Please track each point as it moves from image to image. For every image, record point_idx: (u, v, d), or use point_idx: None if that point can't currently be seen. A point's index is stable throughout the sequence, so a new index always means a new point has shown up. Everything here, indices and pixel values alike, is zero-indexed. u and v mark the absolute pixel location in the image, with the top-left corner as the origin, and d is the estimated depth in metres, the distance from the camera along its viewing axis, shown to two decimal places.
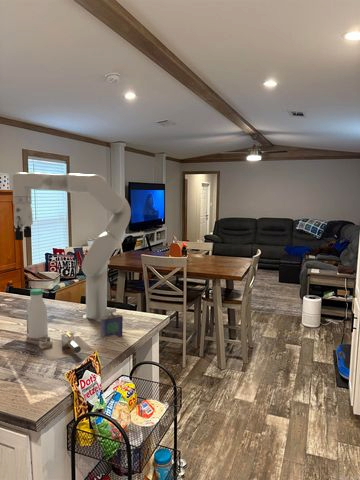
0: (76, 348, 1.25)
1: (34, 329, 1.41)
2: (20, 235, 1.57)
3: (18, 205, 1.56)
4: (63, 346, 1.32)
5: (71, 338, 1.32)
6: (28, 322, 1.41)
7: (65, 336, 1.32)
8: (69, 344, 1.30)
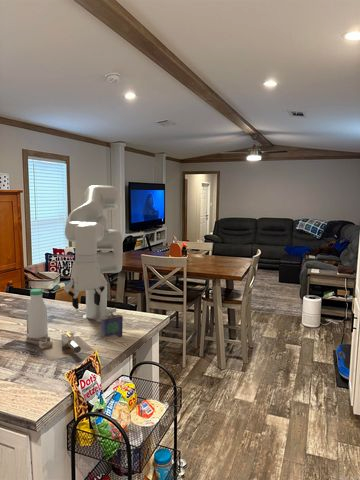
0: (76, 348, 1.25)
1: (34, 329, 1.41)
2: None
3: None
4: (63, 346, 1.32)
5: (71, 338, 1.32)
6: (28, 322, 1.41)
7: (65, 336, 1.32)
8: (69, 344, 1.30)
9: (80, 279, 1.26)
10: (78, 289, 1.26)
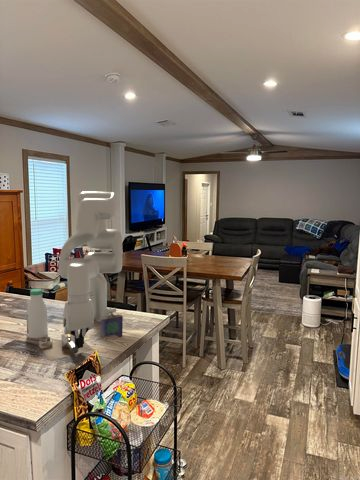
0: (74, 348, 1.25)
1: (34, 329, 1.41)
2: None
3: None
4: (63, 346, 1.32)
5: (71, 338, 1.32)
6: (28, 322, 1.41)
7: (65, 336, 1.32)
8: (68, 344, 1.30)
9: (72, 319, 1.24)
10: (70, 329, 1.25)
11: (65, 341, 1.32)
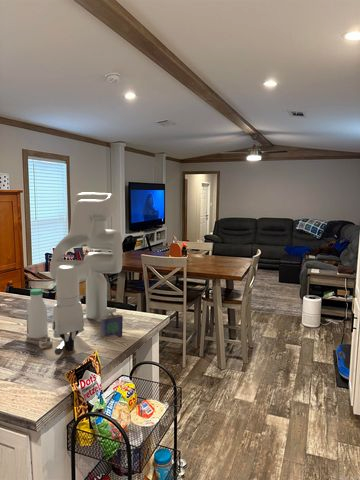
0: (56, 350, 1.24)
1: (34, 329, 1.41)
2: None
3: None
4: None
5: None
6: (28, 322, 1.41)
7: None
8: None
9: (62, 322, 1.22)
10: (60, 332, 1.23)
11: (62, 340, 1.32)
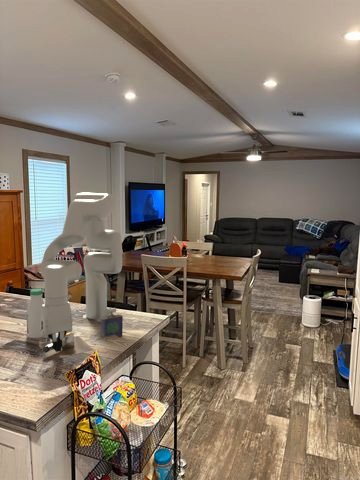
0: (43, 347, 1.25)
1: (34, 329, 1.41)
2: None
3: None
4: None
5: (64, 339, 1.32)
6: (28, 322, 1.41)
7: None
8: None
9: (49, 322, 1.22)
10: (47, 333, 1.22)
11: None
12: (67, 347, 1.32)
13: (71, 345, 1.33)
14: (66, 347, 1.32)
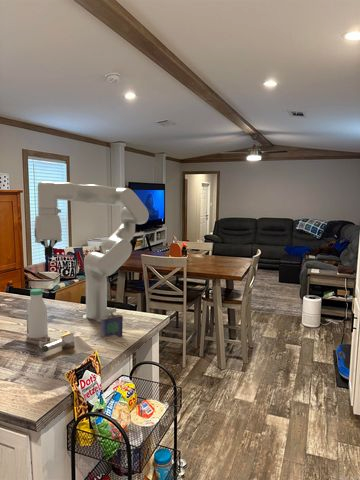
0: (42, 346, 1.26)
1: (34, 329, 1.41)
2: None
3: None
4: None
5: (64, 339, 1.32)
6: (28, 322, 1.41)
7: (63, 335, 1.33)
8: None
9: (42, 229, 1.45)
10: (40, 238, 1.45)
11: None
12: (67, 347, 1.32)
13: (71, 345, 1.33)
14: (66, 347, 1.32)
